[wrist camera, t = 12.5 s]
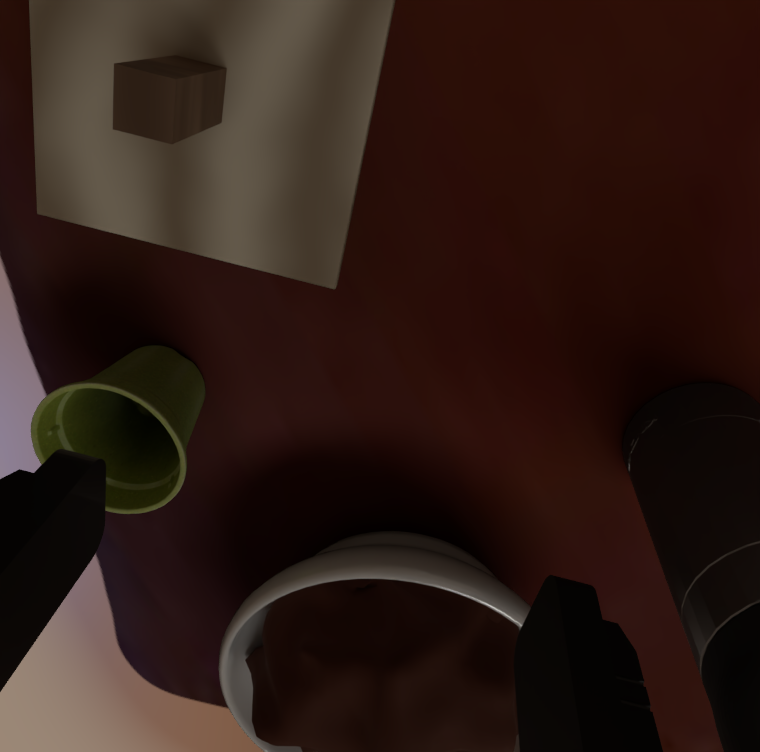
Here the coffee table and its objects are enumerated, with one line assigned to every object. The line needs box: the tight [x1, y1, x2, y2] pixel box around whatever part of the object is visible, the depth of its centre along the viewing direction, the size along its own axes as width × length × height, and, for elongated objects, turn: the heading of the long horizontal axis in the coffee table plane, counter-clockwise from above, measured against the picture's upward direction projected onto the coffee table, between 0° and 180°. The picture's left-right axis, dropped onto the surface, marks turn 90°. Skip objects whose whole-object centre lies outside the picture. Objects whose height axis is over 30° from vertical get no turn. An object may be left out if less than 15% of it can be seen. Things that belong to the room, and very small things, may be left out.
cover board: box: [29, 0, 395, 289], centre depth 28 cm, size 16×16×7 cm
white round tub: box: [219, 531, 531, 752], centre depth 48 cm, size 25×25×15 cm
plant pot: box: [31, 345, 205, 514], centre depth 43 cm, size 9×9×9 cm
